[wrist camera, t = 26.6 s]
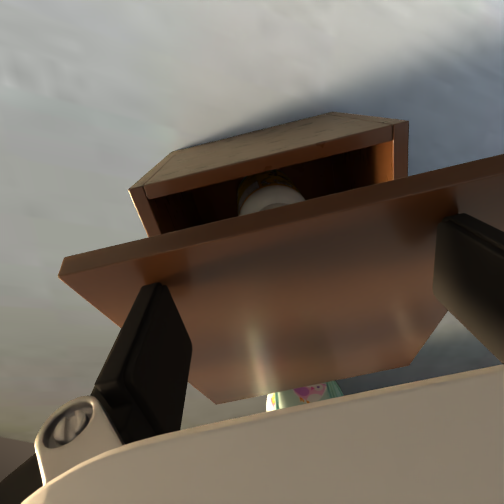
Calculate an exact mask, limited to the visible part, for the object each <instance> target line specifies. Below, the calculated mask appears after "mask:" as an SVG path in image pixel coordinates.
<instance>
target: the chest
mask: <svg viewBox="0 0 504 504" xmlns="http://www.w3.org/2000/svg"><path fill="white" fill-rule="evenodd" d="M408 140H409V121H407V120H399V119H390V118H382V117H374V116H366V115H357V114H349V113H341V112H329V113H325V114H321V115H317V116H313V117H309V118H305V119H301V120H297V121H293V122H289V123H285V124H281V125H277V126H273V127H269V128H265V129H261V130H257V131H253V132H249V133H245V134H241V135H237V136H233V137H229V138H225V139H221V140H217V141H213V142H209V143H205V144H201V145H197V146H193V147H189V148H185V149H181V150H177V151H173V152H171V153H170V154H168V155H167V156H166V157H165V158H164V159H163V160H162V161H160V162H159V163H158V164H157V165H156V166H155V167H153V168H152V169H151V170H150V171H149V172H148V173H147V174H145V175H144V176H143V177H142V178H141V179H140V180H138V181H137V182H136V183H135V184H134V185H133V186H132V187H130V188H129V189H128V191H129V193H130V195H131V198H132V200H133V202H134V205H135V207H136V209H137V212H138V214H139V216H140V219H141V221H142V223H143V225H144V228H145V230H146V232H147V235H148V237H153V236H157V235H161V234H166V233H170V232H174V231H178V230H183V229H187V228H191V227H195V226H200V225H204V224H208V223H212V222H217V221H221V220H225V219H229V218H234V217H238V210H237V191H238V187H239V185H240V183H241V181H242V180H243V178H244V177H245V176H249V175H253V174H258V173H262V172H266V171H270V170H274V169H277V170H280V171H281V172H283V173H284V174H285V175H287V176H288V178H289V179H290V180H291V181H292V183H293V184H294V186H295V187H296V188H297V189H298V191H299V192H300V193H301V195H302V196H303V198H304V199H305V200H310V199H314V198H319V197H323V196H327V195H331V194H336V193H340V192H344V191H348V190H353V189H357V188H361V187H365V186H370V185H374V184H378V183H382V182H387V181H391V180H395V179H399V178H404V177H408Z"/></svg>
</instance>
